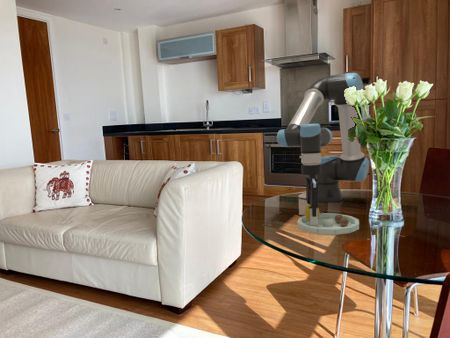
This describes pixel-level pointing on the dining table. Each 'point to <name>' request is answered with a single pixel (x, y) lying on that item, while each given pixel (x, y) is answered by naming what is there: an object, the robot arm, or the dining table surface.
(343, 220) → the walnut bead
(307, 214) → the lemon
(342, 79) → the robot arm
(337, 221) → the walnut bead
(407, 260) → the dining table surface
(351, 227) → the tray
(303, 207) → the teacup with lid
